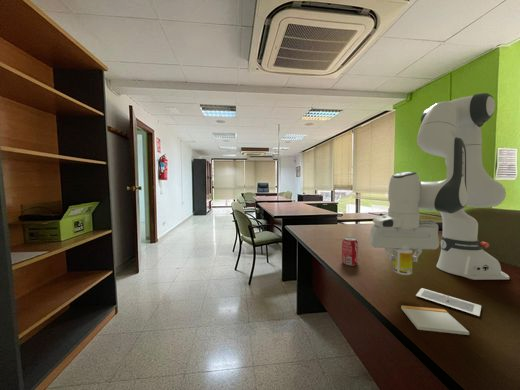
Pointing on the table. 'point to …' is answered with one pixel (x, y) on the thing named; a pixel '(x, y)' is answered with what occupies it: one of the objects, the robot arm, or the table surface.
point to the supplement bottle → (403, 260)
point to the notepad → (433, 320)
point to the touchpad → (450, 301)
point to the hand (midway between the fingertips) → (402, 260)
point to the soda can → (350, 251)
